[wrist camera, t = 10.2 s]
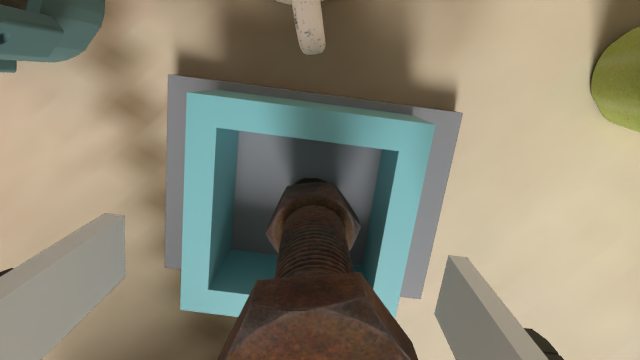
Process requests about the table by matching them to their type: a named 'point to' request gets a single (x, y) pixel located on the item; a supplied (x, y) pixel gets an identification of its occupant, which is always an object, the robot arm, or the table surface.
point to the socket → (287, 168)
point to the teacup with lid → (308, 25)
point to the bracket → (47, 30)
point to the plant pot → (619, 81)
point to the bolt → (315, 289)
